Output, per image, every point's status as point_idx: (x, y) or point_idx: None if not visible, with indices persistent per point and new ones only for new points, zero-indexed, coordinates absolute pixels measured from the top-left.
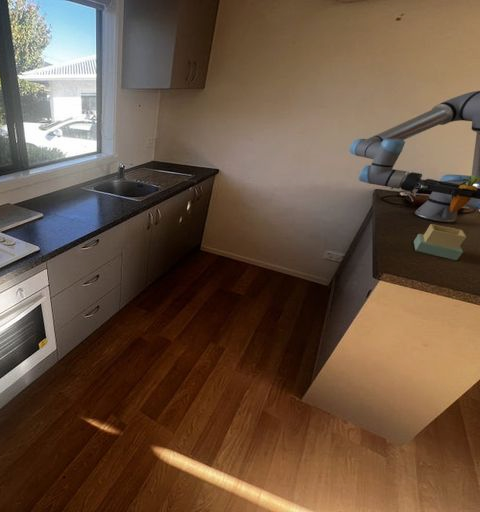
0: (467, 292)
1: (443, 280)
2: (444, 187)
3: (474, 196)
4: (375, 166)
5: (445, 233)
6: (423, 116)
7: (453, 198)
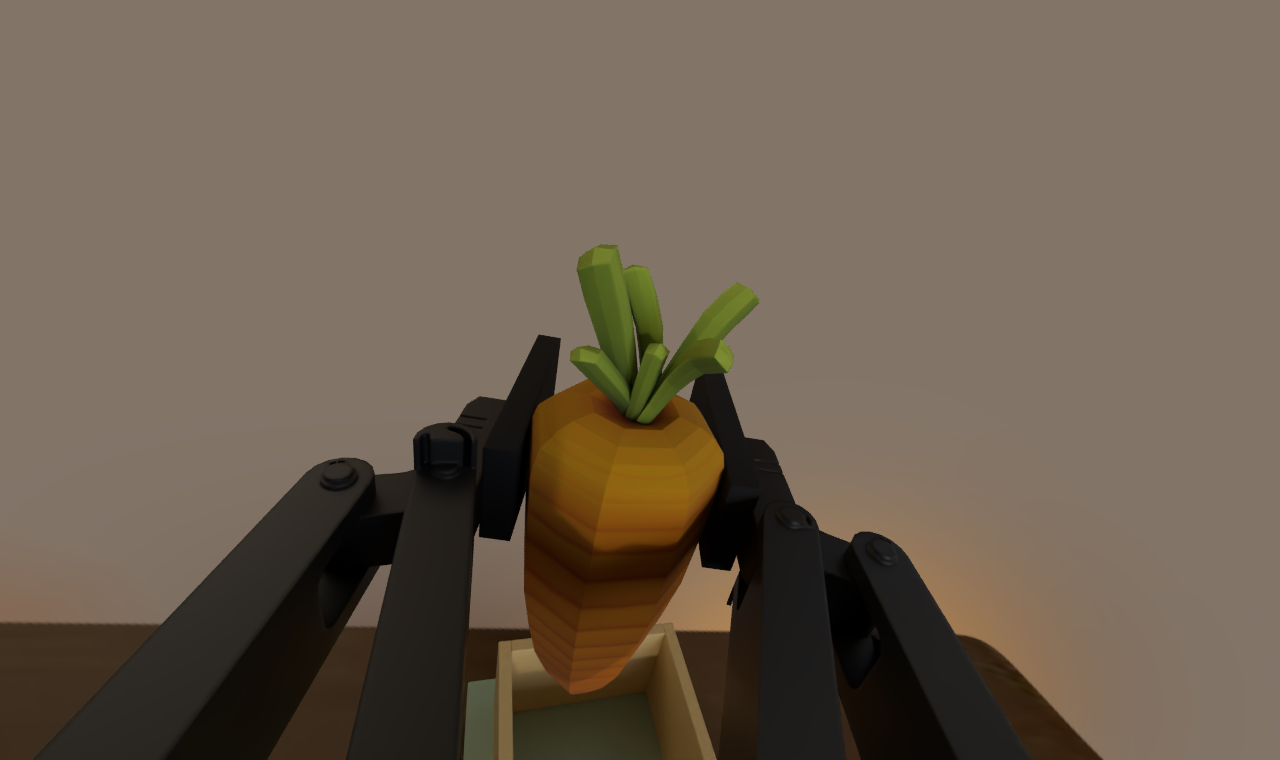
0: (988, 648)
1: None
2: (992, 707)
3: None
4: None
5: (708, 736)
6: None
7: (646, 631)
